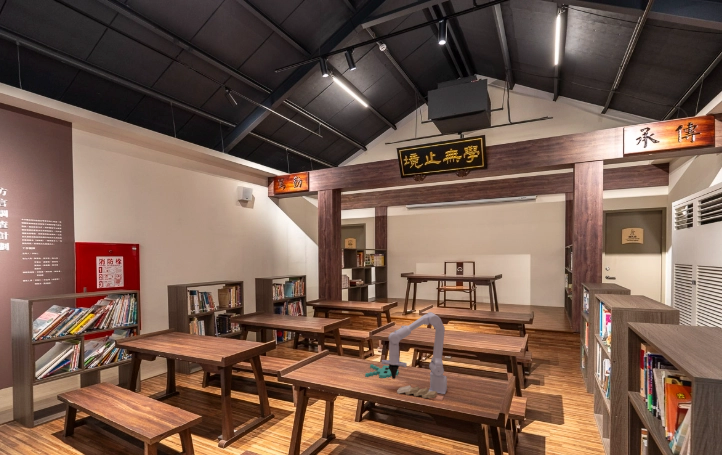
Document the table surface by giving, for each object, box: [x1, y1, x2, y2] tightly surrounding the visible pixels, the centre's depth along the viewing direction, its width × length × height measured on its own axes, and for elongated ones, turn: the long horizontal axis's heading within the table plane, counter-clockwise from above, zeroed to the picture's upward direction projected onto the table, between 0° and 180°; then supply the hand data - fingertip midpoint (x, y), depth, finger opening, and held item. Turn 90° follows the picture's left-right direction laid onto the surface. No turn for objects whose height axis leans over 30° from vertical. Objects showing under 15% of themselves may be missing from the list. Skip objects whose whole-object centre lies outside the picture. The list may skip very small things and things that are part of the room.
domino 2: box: [413, 387, 429, 397], centre depth 199 cm, size 2×5×7 cm
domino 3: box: [421, 391, 438, 399], centre depth 197 cm, size 2×5×7 cm
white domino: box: [396, 385, 412, 395], centre depth 203 cm, size 2×5×7 cm
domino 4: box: [428, 394, 445, 402], centre depth 196 cm, size 2×5×7 cm
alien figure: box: [364, 364, 400, 379], centre depth 236 cm, size 20×2×20 cm
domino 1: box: [404, 386, 421, 396], centre depth 201 cm, size 2×5×7 cm
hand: (393, 378), depth 205 cm, fingers closed
